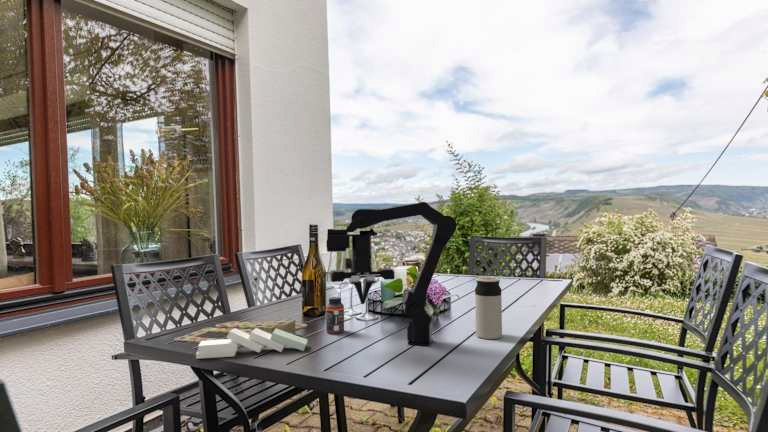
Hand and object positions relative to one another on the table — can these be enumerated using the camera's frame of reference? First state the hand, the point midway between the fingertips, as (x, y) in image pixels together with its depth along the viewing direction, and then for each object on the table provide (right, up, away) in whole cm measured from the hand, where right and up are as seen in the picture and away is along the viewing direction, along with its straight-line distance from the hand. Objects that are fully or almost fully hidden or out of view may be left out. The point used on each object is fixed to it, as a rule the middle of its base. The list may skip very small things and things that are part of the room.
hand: (362, 303), depth 133 cm
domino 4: (-22, -11, -4) cm, 25 cm away
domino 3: (-28, -11, -5) cm, 31 cm away
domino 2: (-35, -12, -7) cm, 38 cm away
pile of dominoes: (-40, -14, +15) cm, 44 cm away
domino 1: (-35, -10, -6) cm, 37 cm away
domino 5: (-16, -11, -3) cm, 20 cm away
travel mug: (+39, -12, +6) cm, 41 cm away
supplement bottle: (-10, -12, +15) cm, 22 cm away
